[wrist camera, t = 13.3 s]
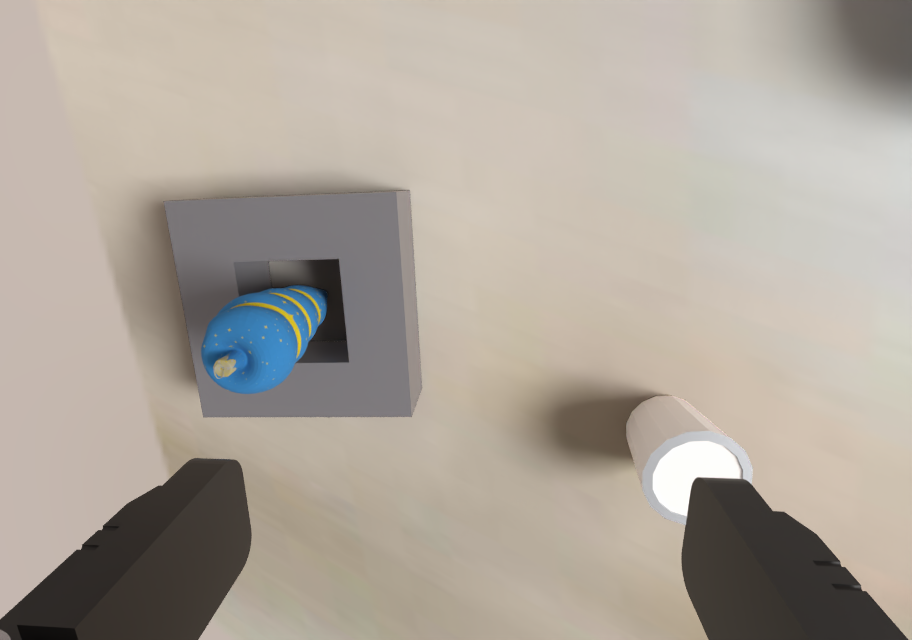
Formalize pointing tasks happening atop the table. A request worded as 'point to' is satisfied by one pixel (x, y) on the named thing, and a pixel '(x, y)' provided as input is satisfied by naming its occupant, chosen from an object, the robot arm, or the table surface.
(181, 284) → the socket block
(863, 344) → the table surface
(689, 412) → the white short cylinder
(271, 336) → the ornament
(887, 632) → the robot arm
